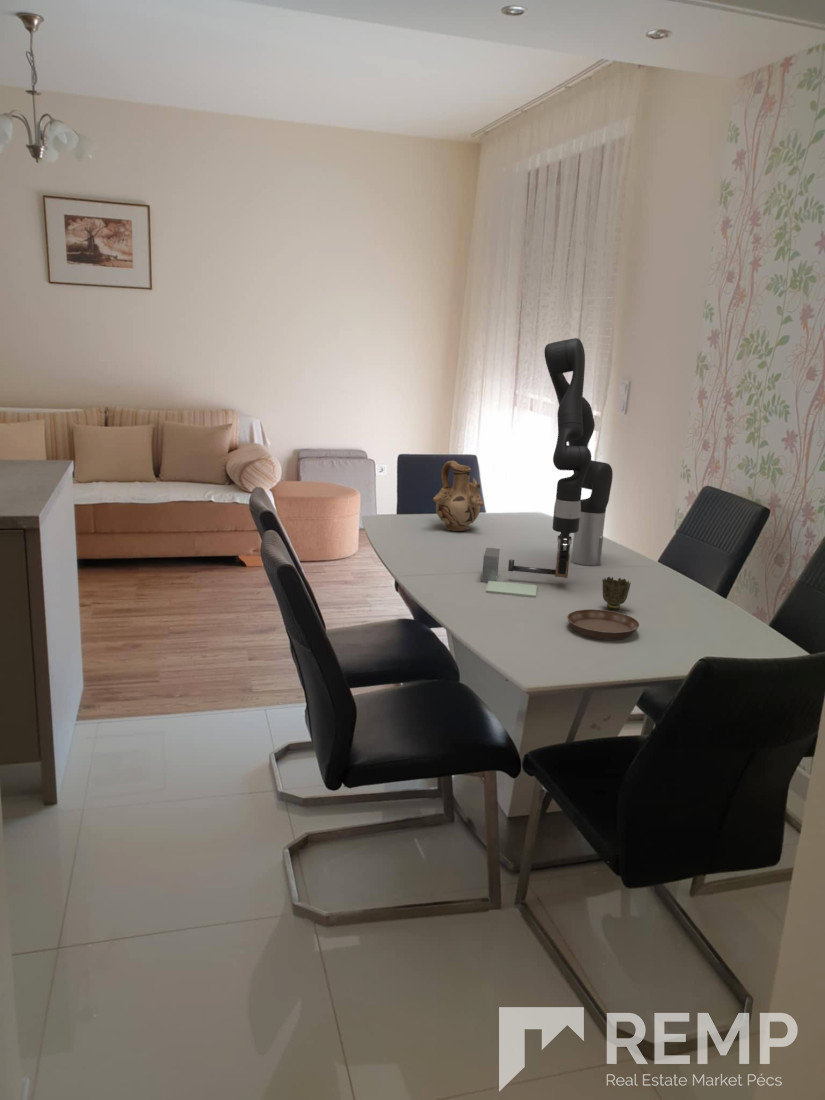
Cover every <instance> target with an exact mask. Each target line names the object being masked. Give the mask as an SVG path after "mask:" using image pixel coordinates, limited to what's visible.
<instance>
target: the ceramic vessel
mask: <svg viewBox="0 0 825 1100" xmlns="http://www.w3.org/2000/svg"><path fill="white" fill-rule="evenodd" d="M471 470H472V468H471V467H470V466H469V465H464V464H460V463H458V462H457V461H455V460H448V461H446V462H445V463H444V464H443V466H442V468H441V483H442V487H441V488H440V490H439V492H438V493H436V494H435V496H434V497H433V498H432V501H433V502H435V512H436V514H437V517H438V518H439V519H440V520H441V522H444V524H445V526H446V527H445V529H446V528H447V529H449V530H448V531H450V530H453V531H452V532H462V531H463V532H464V531H468V530H469V526H470V524H473V523H474V522H475V521H476V520H477V518H478V516H479V514H480V512H481V507H482V506H484V501H483V500H482V496H481V494H480V488H481V484H480V483H479V482H477V481H476V479H475V477H474V476H473V477H472V482H470V478H471ZM450 471H452V474H453V482H452V486H451V485H450V478H449V475H450V474H449V473H450ZM447 529H446V530H447Z"/></svg>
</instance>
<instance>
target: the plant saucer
mask: <svg viewBox="0 0 825 1100" xmlns="http://www.w3.org/2000/svg"><path fill="white" fill-rule="evenodd" d="M566 618H567V621H568V623H569V625H570V626H571V627H572V629H573V630H574V631H575V632H576V633H578V634H580V635H582V636H585V637H588V638H591V639H597V640H605V641H617V640H624V639H626V638H629V637H631V635H633V634H634V633H635V632H637V630H638V629H639V627H640V623H639V622H638V620H637V619H635V618H634V617H632V616H630V615H627V614H624V613H621V612H616V611H614V610H607V609H579V610H574V611H572V612H570V613H568V615H567V616H566Z"/></svg>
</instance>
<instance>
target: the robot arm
mask: <svg viewBox="0 0 825 1100" xmlns="http://www.w3.org/2000/svg"><path fill="white" fill-rule="evenodd" d="M543 353H544V360H545V364H546V368H547V371H548V374H549V376H550V380H551V382H552V385H553V388H554V391H555V395H556V398H557V402H558V409H557V440H556V445H555V449H554V453H553V455H552V456H553V457H552V461H553V462H552V463H553V465H554V467H555V468H556V469H557V470H559V471H573V474H572V475H571V476H567V477H564V478H560V479H559V480H558V481H557V482H556V483H557V484H556V485H557V486H556V494H555V495H556V496H555V502H554V506H553V507H554V508H553V517H552V518H553V519H552V530H553V531H554V532H557V533H560V534H559V535H557V541H556V542H557V551H558V553H559V559H558V560H559V566H558V574H566V564H567V562H568V554H569V553H570V554H571V557H570V558H571V559H570V562H572V563H574V564H577V565H581V566H601V560H602V559H601V558H602V552H603V543H604V529H605V520H606V511H607V506H608V504H609V501H610V495H611V489H612V485H613V484H612V483H613V477H614V476H613V468H612V466H611V465H610V464H609V463H607V462H605V461H604V462H603V461H599V460H598V461H597V460H592V453H591V450H590V449H589V447H588V446H589V442H590V440H591V438H592V436H593V434H594V430H595V425H596V424H595V419H594V414H593V410H592V407H591V404H590V403H589V401H588V400H587V399H586V398H585V397H584V396H583V393H584V386H585V382H584V381H585V370H586V352H585V347H584V345H583V342H582V340H581V339H580V338H579V337H578V338H577V337H575V338H569V339H563V340H560V341H553V342H550V343H548V344H546V346H545V347H544V352H543ZM571 372H572V377H571V380H570V383H569V382H568V380H567V378H566V377H565V375H564V374H566V373H571ZM567 442H568V443H567ZM567 444H568V445H567ZM583 489H587V490H591V492H590V496H589V497H588V498H583V499H581V498H582V492H583V491H582V490H583ZM571 534H573V539H572V535H571ZM570 535H571V536H570ZM571 545H572V548H571ZM561 555H566V557H561Z"/></svg>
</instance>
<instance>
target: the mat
mask: <svg viewBox="0 0 825 1100" xmlns="http://www.w3.org/2000/svg"><path fill="white" fill-rule="evenodd" d="M537 587H538V586H537V585H533V584H526V583H525V584H524V583H516V582H505V581H497V580H496V581H488V583H487V585H486V587H485V588H486V589H485V593H489V594H496V595H497V594H498V595H499V594H500V595H507V596H515V597H517V596H518V597H527V598H535V597H536V598H537Z"/></svg>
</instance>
